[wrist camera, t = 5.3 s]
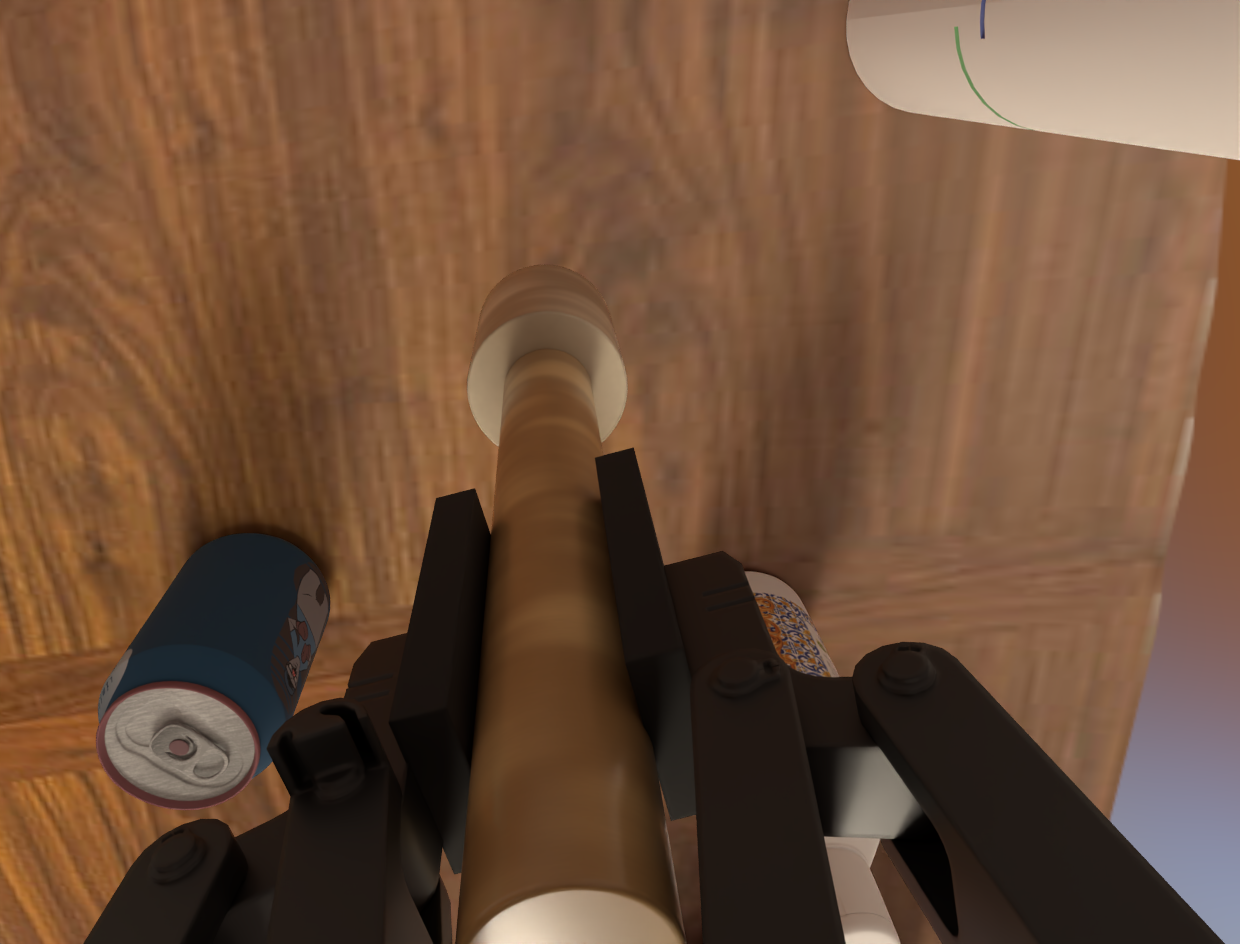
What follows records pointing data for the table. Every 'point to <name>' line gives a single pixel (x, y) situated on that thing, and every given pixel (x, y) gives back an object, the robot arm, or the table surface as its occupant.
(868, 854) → the bath foam
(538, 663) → the wooden dowel
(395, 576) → the table surface
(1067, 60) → the cylindrical container
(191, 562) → the soda can
